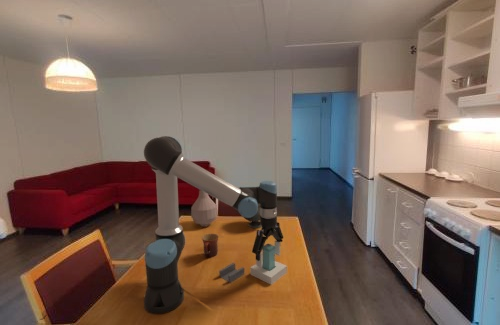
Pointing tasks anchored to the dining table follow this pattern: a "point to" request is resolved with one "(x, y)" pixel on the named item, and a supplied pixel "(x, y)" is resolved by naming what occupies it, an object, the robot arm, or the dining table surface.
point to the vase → (204, 210)
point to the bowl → (255, 219)
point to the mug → (210, 245)
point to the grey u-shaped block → (231, 273)
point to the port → (269, 272)
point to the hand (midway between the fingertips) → (268, 260)
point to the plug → (268, 257)
